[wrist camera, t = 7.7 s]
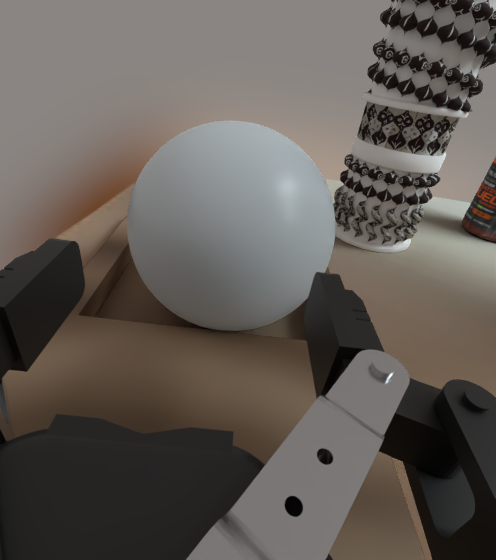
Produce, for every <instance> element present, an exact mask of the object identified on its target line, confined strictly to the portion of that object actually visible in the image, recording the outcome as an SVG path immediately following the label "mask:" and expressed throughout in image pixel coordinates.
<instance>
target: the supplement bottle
mask: <svg viewBox="0 0 496 560" xmlns="http://www.w3.org/2000/svg"><path fill="white" fill-rule="evenodd" d="M462 225H463V227H464V228H465V229H466V230H467V231H468V232H470V233H472V234H474V235H476V236H478V237H480V238H482V239H486V240H489V241H494V242H496V158H495V159H494V162H493V163H492V165H491V167H490V169H489V170H488V172H487V175H486V176H485V178H484V180H483V182H482V184H481V186H480V188H479V190H478V192H477V193H476V195H475V197H474V199H473V201H472V202H471V205H470V207H469V208H468V210H467V212H466V214H465V217H464V218H463V220H462Z"/></svg>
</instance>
